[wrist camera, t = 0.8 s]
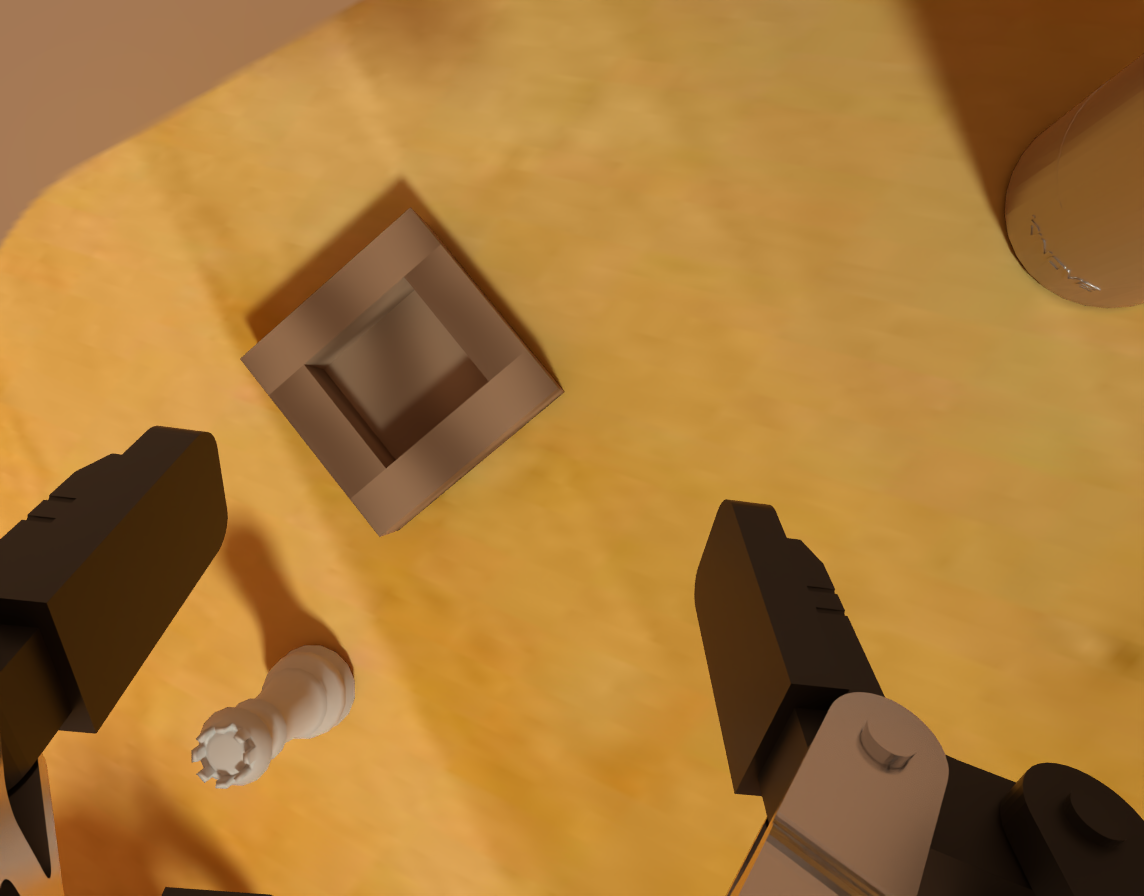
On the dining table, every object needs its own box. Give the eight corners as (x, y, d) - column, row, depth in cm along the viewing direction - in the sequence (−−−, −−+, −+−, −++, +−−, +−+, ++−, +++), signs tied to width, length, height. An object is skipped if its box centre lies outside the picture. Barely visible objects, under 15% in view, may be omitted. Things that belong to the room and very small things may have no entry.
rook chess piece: (307, 743, 35) (207, 833, 27) (261, 671, 35) (148, 739, 27) (375, 698, 34) (294, 775, 26) (328, 625, 34) (233, 680, 26)
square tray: (427, 224, 34) (410, 207, 31) (564, 392, 33) (558, 387, 30) (269, 364, 35) (240, 358, 32) (398, 530, 34) (379, 536, 31)
